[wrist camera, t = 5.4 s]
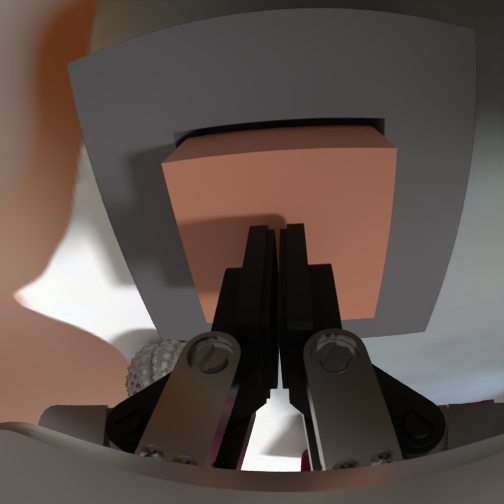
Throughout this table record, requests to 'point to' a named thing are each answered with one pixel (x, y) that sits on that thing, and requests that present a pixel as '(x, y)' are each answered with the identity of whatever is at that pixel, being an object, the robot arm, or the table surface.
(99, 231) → the table surface
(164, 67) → the button box
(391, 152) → the button
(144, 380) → the sea urchin shell
